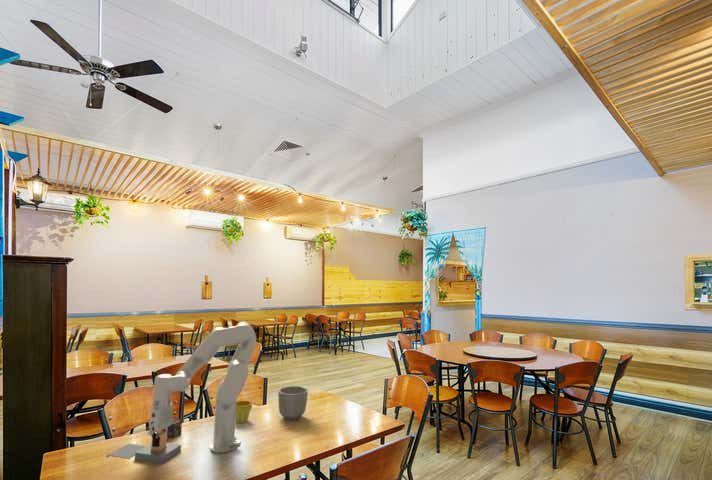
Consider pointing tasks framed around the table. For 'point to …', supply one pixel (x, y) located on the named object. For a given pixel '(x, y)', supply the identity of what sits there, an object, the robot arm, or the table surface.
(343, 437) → the table surface
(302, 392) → the planter
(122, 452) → the mat
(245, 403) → the plant pot
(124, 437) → the table surface
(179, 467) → the table surface
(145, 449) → the socket block
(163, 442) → the plug
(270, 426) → the table surface
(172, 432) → the box
